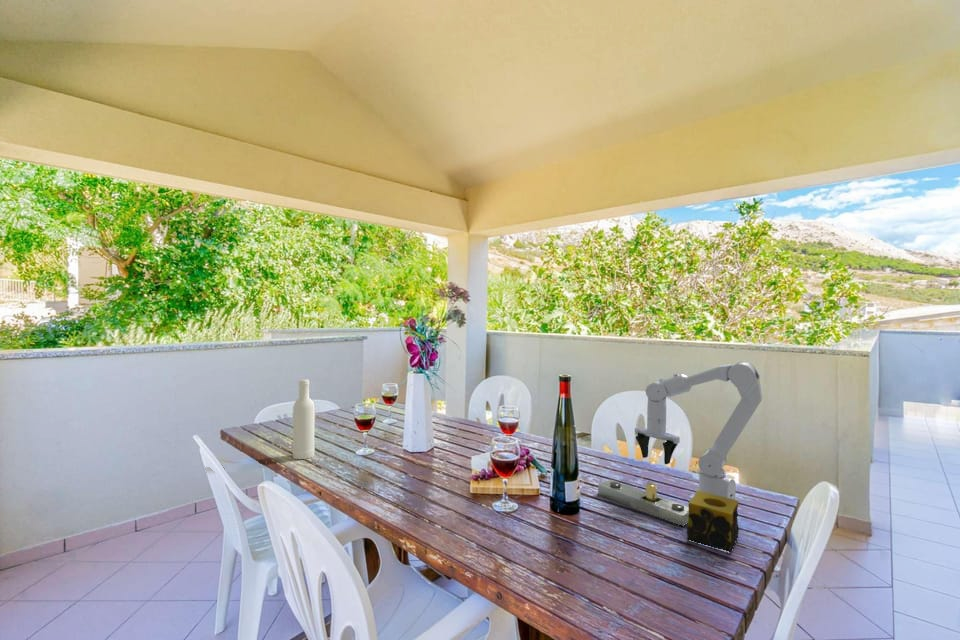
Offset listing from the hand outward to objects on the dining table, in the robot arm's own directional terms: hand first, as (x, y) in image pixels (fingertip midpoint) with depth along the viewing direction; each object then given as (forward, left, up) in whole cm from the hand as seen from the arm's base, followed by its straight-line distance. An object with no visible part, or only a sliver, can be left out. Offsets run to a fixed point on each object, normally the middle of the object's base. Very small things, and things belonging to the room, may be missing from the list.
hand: (655, 460), depth 143 cm
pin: (-7, +15, -9) cm, 19 cm away
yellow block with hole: (-26, +19, -10) cm, 34 cm away
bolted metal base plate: (-5, +15, -9) cm, 18 cm away
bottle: (+101, +81, -10) cm, 130 cm away
